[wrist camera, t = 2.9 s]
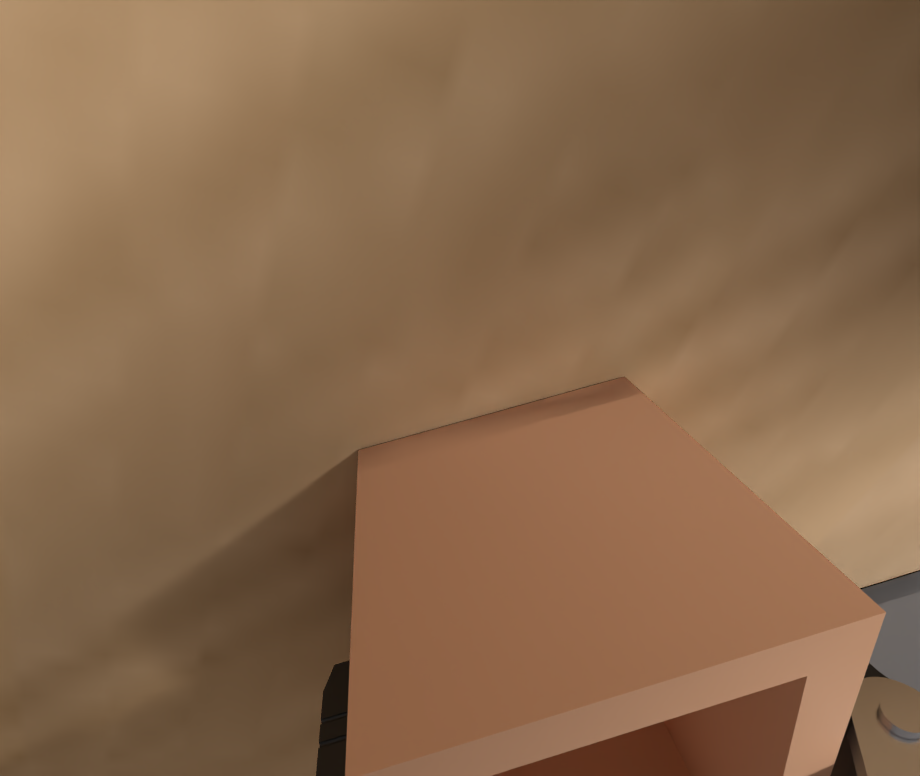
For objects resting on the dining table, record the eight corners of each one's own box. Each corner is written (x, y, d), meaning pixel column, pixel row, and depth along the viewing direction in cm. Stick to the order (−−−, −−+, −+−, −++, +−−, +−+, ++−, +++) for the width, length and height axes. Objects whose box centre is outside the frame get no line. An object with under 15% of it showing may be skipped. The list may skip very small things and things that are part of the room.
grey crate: (1083, 520, 16) (1314, 642, 12) (951, 752, 24) (1067, 873, 20) (697, 639, 15) (809, 808, 12) (688, 838, 23) (754, 982, 19)
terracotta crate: (624, 376, 10) (886, 612, 5) (637, 628, 15) (788, 899, 9) (358, 450, 10) (345, 780, 5) (450, 685, 14) (497, 997, 9)
